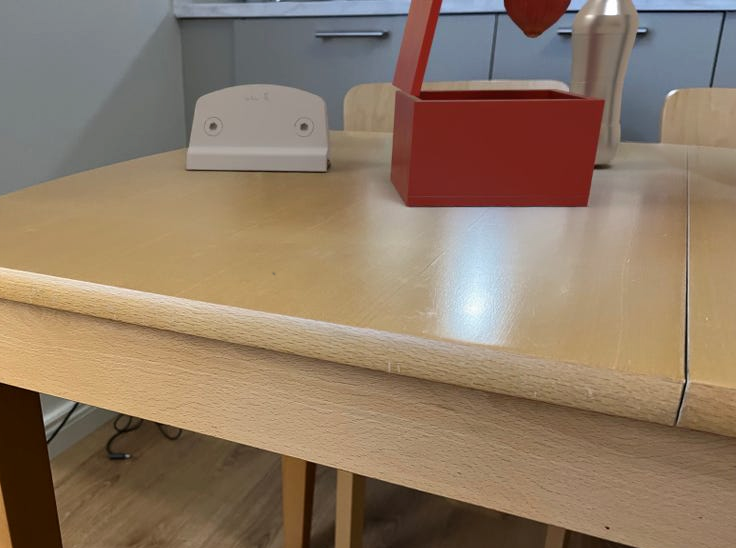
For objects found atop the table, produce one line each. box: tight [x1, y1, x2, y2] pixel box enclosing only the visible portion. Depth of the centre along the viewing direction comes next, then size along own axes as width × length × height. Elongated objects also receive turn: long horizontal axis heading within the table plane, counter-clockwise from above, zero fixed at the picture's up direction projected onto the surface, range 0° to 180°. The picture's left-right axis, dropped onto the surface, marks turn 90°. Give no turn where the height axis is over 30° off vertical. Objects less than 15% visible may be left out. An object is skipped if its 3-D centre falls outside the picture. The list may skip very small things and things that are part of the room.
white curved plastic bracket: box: [185, 83, 333, 173], centre depth 86 cm, size 17×5×10 cm, turn 81°
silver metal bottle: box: [568, 0, 640, 167], centre depth 82 cm, size 6×7×20 cm
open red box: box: [389, 88, 605, 207], centre depth 71 cm, size 16×13×9 cm
